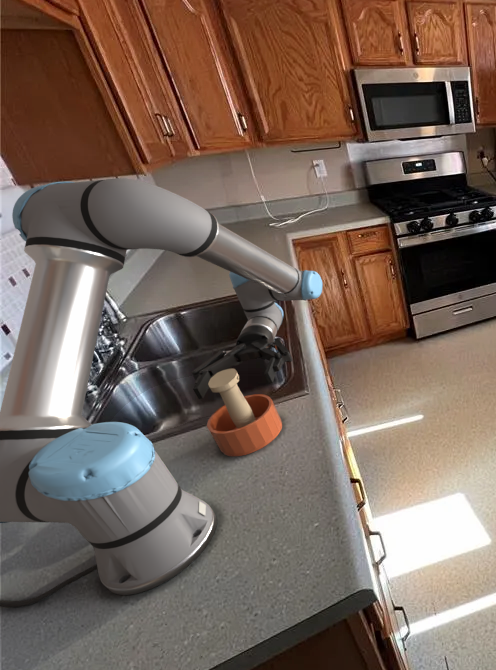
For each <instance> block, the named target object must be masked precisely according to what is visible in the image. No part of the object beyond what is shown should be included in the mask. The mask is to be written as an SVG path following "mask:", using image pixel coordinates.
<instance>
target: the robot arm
mask: <svg viewBox="0 0 496 670" xmlns="http://www.w3.org/2000/svg"><path fill="white" fill-rule="evenodd" d="M11 214H12V215H11V218H12V223H13V225H14V229H15V230H18V231H19V237H20V238H21V239H22V240H23V241H24V242H25V245H24V249H23V252H24V253H25V254H26V255H27V256H28V257H30V258H31V259H32V260H33V262H34V263H35V265H34V269H33V273H32V277H31V282H30V285H29V290H28V293H27V298H26V302H25V307H24V310H23V314H22V319H21V323H20V327H19V331H18V335H17V340H16V343H15V344H16V345H15V348H14V352H13V356H12V361H11V365H10V370H9V373H8V378H7V381H6V384H5V385H6V386H5V389H4V394H3V398H2V401H1V407H0V524H7V523H58V524H59V523H60V524H61V523H62V524H63V523H64V524H65V523H66V524H68V525H71V526H73V527H74V528H75V529H76V530H77V532H78V533H80V535H81V536H82V537H83V538H84V539H85V540H86V541H87V543H89V544H90V545H91V546H92V547H93V552H94V557H95V558H94V559H95V563H96V564H94V565H92V566H91V567H88V568H87V569H85V570H82V571H81V572H79V573H77V574H75V575H73V576H71V577H69V578H67V579H66V580H64V581H61V583H59V584H57V585H55V586H54V587H52V588H51V589H49V590H47V591H45V592H44V593H41V594H39V595H37V596H35V597H32V598H29V599H24V600H6V599H5V600H4V599H2V600H1V599H0V607H5V608H18V607H25V606H29V605H32V604H35V603H38V602H40V601H42V600H44V599H47V598H48V597H50V596H52V595H53V594H55V593H57V592H58V591H60V590H62V589H63V588H65V587H66V586H68V585H70V584H72V583H74V582H76V581H78V580H79V579H82V578H83V577H85V576H87V575H89V574H91V573H93V572H95V571H96V570H97V573H98V577H99V580H100V582H101V583H102V585H103V586H104V587H105V588H106V589H108V591H110V592H111V593H113V594H116V595H121V596H126V595H127V596H129V595H136V594H139V593H143V592H146V591H149V590H152V589H154V588H156V587H158V586H160V585H163V584H165V583H166V582H168V581H169V580H172V579H173V578H174V577H176V576H177V575H179V574H180V573H181V572H183V571H184V570H185V569H186V568H188V567H189V566H190V565H191V564H192V563H193V562H194V561H195V560H196V559H197V558H198V557H199V556H200V555H201V554H202V553H203V552H204V551H205V549H206V548H207V546H209V544H210V543H211V540H212V539H213V537H214V535H215V532H216V529H217V524H218V518H217V515H216V513H215V512H214V509H213V508H212V507H211V505H210V504H209V503H207V502H205V501H204V500H202V499H201V498H199V497H197V496H195V495H193V494H191V493H190V492H188V491H185V490H184V489H182V488H181V486H180V485H179V483H178V482H177V481H176V479H175V477H174V476H173V474H172V473H171V471H170V470H169V469H168V467H167V466H166V464H165V463H164V461H163V460H162V459H161V456H160V455H159V454H158V452H157V451H156V449H155V447H154V444H153V443H152V441H151V440H149V438H148V437H147V436H146V435H144V434H143V432H141V430H140V429H138V427H136V426H135V425H132V424H131V423H130V424H129V423H126V422H120V421H105V422H98V423H97V422H96V423H91V422H90V421H88V419H86V418H85V416H83V410H84V406H85V401H86V394H87V390H88V386H89V380H90V375H91V372H92V371H91V370H92V365H93V361H94V357H95V356H94V355H95V351H96V350H95V349H96V347H97V340H98V335H99V331H100V325H101V319H102V315H103V311H104V305H105V301H106V295H107V291H108V287H109V280H110V276H111V275H112V274H115V273H116V272H119V271H121V270H123V269H124V267H125V260H126V256H127V251H129V250H131V251H132V250H140V249H141V250H144V249H145V250H161V251H166V252H167V251H168V252H172V253H175V254H177V255H179V256H181V257H185V258H194V257H197V258H198V259H201V260H204V261H206V262H208V263H210V264H213V265H215V266H216V267H219V268H221V269H223V270H225V271H228V272H229V273H228V276H229V280H230V282H231V285H232V289H233V290H234V292H235V294H236V297H237V299H238V301H239V304H240V305H241V308H242V309H243V313H244V315H245V316H246V319H247V320H246V323H245V324H244V326H243V328H242V329H241V332H240V333H239V335H238V337H237V339H236V342H235V346H234V347H233V348H232V349H231V350H226V349H225V348H220V349H219V350H218V351H217V352H216V353H215V354H214V355H213V356H211V357H210V358H209V359H207V360H206V361H204V362H202V364H200V365H198V366H197V367H196V368H195V369H193V370H192V371H191V376H192V377H193V378H194V384H195V385H194V387H193V388H192V390H193V392H194V394H195V395H196V397H197V399H198V400H203V399H204V397H205V395H206V394H207V392H208V391H209V389H210V387H209V385H208V383H209V381H210V379H211V378H212V377H213V376H214V375H215V374H216V373H218V372H220V371H223V370H226V369H231V368H232V367H234V366H235V367H236V366H239V365H240V364H242V363H243V362H247V361H251V360H257V359H261V360H264V361H265V360H267V361H268V363H267V365H266V369H265V370H264V373H263V374H264V376H265V378H266V380H267V381H266V382H268V384H269V385H270V384H273V383H274V380H275V377H276V375H277V372H281V370H282V367H283V365H284V364H285V363H286V362H287V363H292V362H293V357H292V354H291V351H290V350H289V349H288V348H287V347H286V346H285V344H284V343H283V340H282V338H281V337H276V336H277V334H278V331H279V329H280V327H281V325H282V324H283V319H284V310H283V308H282V307H281V306H280V305H279V304H278V303H277V302H284V301H285V302H289V301H290V302H291V301H308V300H317V299H319V298H320V296H321V295H322V293H323V280H322V277H321V275H320V273H318V272H317V271H315V270H307V269H304V270H299V269H298V268H297V267H296V268H295V267H294V266H292V265H291V264H288V262H285V261H283V260H282V259H280V258H278V257H276V256H275V255H274V254H272V253H270V252H268V251H267V250H265V249H263V248H261V247H260V246H258V245H256V244H255V243H253V242H251V241H249V239H246V238H244V237H242V236H241V235H239V234H238V233H236V232H234V231H232V230H230V229H229V228H227V227H225V226H224V225H222V224H221V223H219V222H218V219H217V217H216V215H214V214H213V213H212V212H211V211H208V210H207V209H205V208H203V207H202V206H200V205H199V204H196V203H195V202H193V201H191V200H189V199H187V198H185V197H183V196H181V195H180V194H178V193H175V192H172V191H170V190H168V189H165V188H163V187H160V186H157V185H155V184H152V183H150V182H145V181H142V180H138V179H133V178H125V177H124V178H121V177H116V178H106V179H97V180H96V179H95V180H86V181H53V182H49V183H46V184H43V185H38V186H35V187H32V188H29V189H28V190H26V191H25V192H23V193H22V194H21V195H20V196H19V197H18V198H17V200H16V201H15V202H14V205H13V207H12V213H11ZM272 348H273V349H274V350H275V351H274V350H273V349H272Z"/></svg>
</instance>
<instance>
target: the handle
mask: <svg viewBox="0 0 496 670" xmlns="http://www.w3.org/2000/svg"><path fill="white" fill-rule="evenodd" d="M239 382H240V375H239V374H238V371H237V370H236V368H229V369H226V370H223V371H220V372H218V373H216V374H215V375H214V376H213V377H212V378H211V379H210V381H209V383H208V385H209V389H210V391H211V392H212V393H219V394H220V397H221V399H222V401H223V403H224V405H225V406H226V408H227V410H228V412H229V415H230V417H231V419H232V421H233V422H234V424H235V426H236V427H237V428H241V427H244V426H246V425H248V424H250V423H252V422H254V421H255V420H256V419H255V416H254V414H253V412H252V410H251V408H250V406H249V404H248V403H247V401H246V399H245V398H244V396H245V395H244V394H243V392H242V391H241V389H240V387H239V386H238V383H239Z"/></svg>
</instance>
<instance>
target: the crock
mask: <svg viewBox="0 0 496 670" xmlns="http://www.w3.org/2000/svg"><path fill="white" fill-rule="evenodd" d="M243 396H244V398H245V399H246V401H247V403H248V404H249V406H250V408H251V410H252V412H253V414H254V416H255V419H256V420H255V421H254V422H252V423H250V424H248V425H246V426H244V427H241V428H237V427H236V426H235V424H234V422H233V421H232V419H231V417H230V415H229V412H228V410H227V408H226V406H225V404H224V405H222V406H221V407H219V408H218V409H217V410H215V412H213V413H212V414H211V416H209V418H208V420H207V424H206V428H207V429H208V432H209V433H210V435H211V436H212V438H213V440H214V442H215V444H216V445H217V447H218V448H219V450H220V452H221V453H222V454H223V455H225V456H228V457H241V456H246V455H249V454H250V455H251V454H252V453H254V452H257V451H259V450H261V449H263V448H264V447H266V446H267V445H270V443H272V442H273V441H274V440H275V439H276V438H277V437H278V435H279V434H280V433H281V431H282V428H283V421H282V419H281V417H280V414H279V412H278V410H277V408H276V406H275V403H274V401H273V399H272V398H271V397H270V396H269V395H267V394H264V393H255V394H249V395H243Z"/></svg>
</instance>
